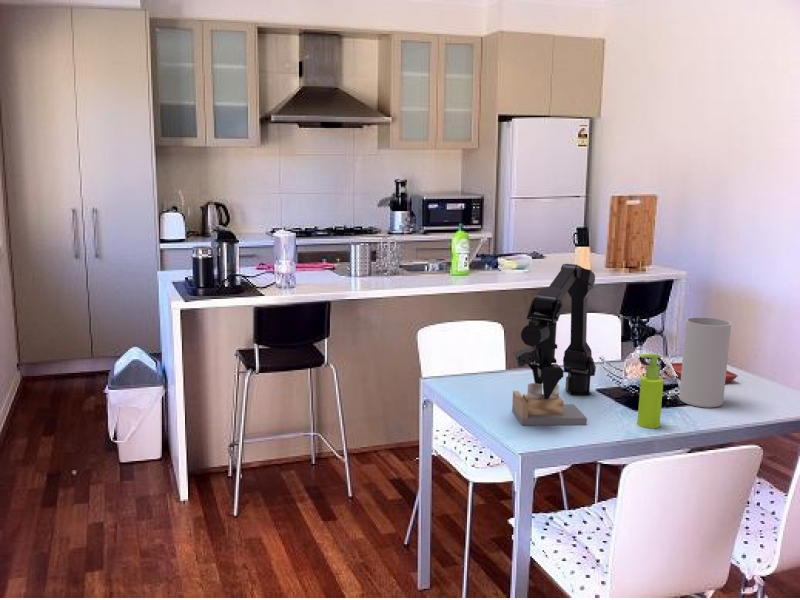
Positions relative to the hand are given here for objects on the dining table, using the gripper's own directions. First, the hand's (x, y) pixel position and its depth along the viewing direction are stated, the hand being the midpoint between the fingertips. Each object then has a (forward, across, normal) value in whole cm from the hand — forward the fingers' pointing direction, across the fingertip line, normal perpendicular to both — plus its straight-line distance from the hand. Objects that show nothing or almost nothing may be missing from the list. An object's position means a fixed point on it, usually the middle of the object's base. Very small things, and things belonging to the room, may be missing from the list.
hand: (541, 393), depth 216 cm
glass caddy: (+5, 0, 0) cm, 5 cm away
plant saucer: (+8, -41, +65) cm, 78 cm away
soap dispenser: (+7, +6, +28) cm, 30 cm away
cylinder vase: (+7, -14, +53) cm, 56 cm away
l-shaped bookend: (+7, 0, +2) cm, 7 cm away
